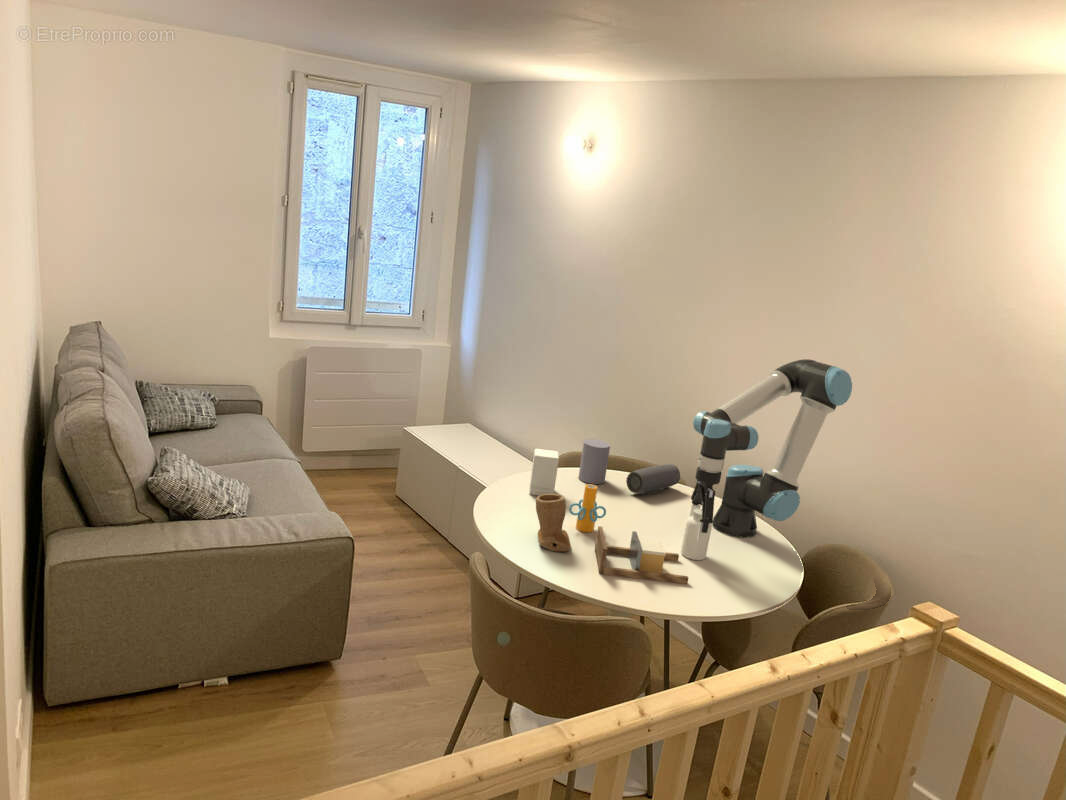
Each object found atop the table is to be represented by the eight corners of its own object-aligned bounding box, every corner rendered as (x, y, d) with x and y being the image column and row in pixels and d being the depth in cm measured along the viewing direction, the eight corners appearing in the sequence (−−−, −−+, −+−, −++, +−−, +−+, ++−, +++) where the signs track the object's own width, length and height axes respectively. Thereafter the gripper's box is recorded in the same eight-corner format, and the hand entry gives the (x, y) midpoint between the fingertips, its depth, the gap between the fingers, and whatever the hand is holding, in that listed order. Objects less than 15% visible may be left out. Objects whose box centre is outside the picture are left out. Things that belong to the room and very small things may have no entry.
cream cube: (657, 564, 244) (661, 542, 242) (661, 574, 237) (665, 552, 235) (634, 561, 244) (638, 539, 242) (637, 572, 237) (641, 550, 235)
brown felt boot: (530, 530, 256) (536, 486, 252) (567, 534, 257) (573, 491, 253) (531, 550, 241) (537, 504, 238) (570, 555, 242) (577, 509, 238)
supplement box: (553, 497, 287) (559, 458, 284) (528, 494, 287) (534, 455, 284) (553, 489, 296) (558, 450, 293) (529, 486, 296) (534, 447, 292)
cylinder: (590, 539, 255) (596, 495, 252) (562, 529, 260) (568, 486, 257) (607, 528, 266) (614, 486, 262) (580, 519, 271) (586, 477, 267)
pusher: (632, 555, 247) (636, 531, 245) (638, 575, 234) (642, 550, 232) (628, 555, 247) (632, 531, 245) (634, 574, 234) (638, 549, 232)
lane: (677, 559, 249) (681, 536, 247) (687, 584, 233) (692, 559, 231) (594, 550, 248) (598, 526, 246) (599, 574, 232) (603, 548, 230)
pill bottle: (705, 563, 249) (714, 518, 245) (680, 557, 250) (688, 513, 247) (705, 553, 257) (714, 509, 253) (680, 548, 258) (688, 504, 254)
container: (576, 481, 307) (582, 444, 304) (579, 473, 317) (585, 437, 314) (603, 486, 306) (609, 449, 303) (605, 478, 316) (611, 442, 312)
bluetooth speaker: (660, 483, 319) (664, 459, 316) (679, 491, 312) (683, 467, 310) (623, 491, 303) (627, 466, 301) (641, 500, 297) (646, 475, 294)
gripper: (689, 455, 259) (677, 516, 263) (706, 480, 234) (693, 547, 239) (712, 458, 259) (700, 518, 264) (731, 484, 235) (717, 550, 240)
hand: (696, 532), depth 252 cm, fingers open, 13 cm apart
